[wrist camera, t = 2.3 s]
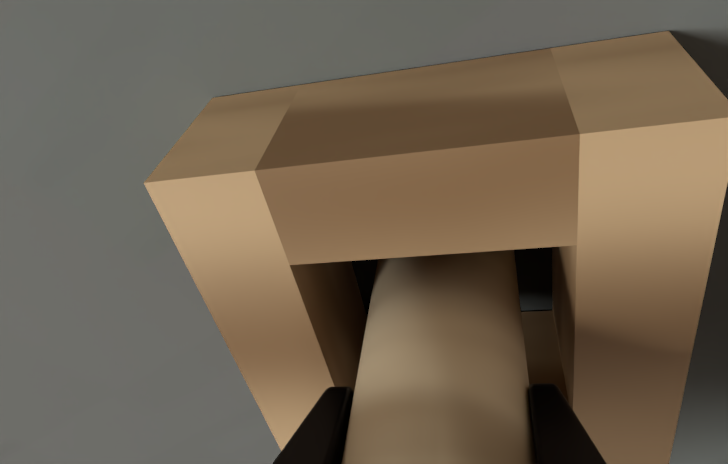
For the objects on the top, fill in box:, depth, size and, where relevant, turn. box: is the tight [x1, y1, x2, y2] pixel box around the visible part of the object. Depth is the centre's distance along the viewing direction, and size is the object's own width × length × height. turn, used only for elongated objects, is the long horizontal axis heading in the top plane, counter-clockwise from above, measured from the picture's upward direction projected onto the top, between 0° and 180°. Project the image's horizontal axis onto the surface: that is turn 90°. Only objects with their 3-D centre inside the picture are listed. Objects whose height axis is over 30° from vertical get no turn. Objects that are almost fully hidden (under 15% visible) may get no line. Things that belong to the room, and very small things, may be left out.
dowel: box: [341, 250, 536, 464], centre depth 8 cm, size 3×3×10 cm
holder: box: [144, 31, 728, 464], centre depth 11 cm, size 8×8×3 cm
